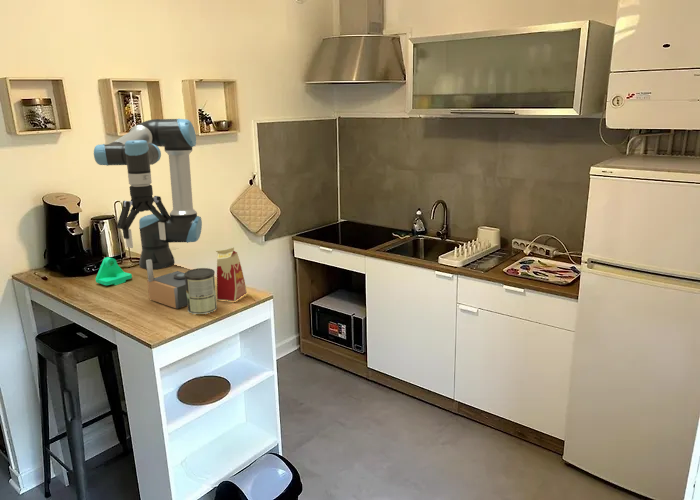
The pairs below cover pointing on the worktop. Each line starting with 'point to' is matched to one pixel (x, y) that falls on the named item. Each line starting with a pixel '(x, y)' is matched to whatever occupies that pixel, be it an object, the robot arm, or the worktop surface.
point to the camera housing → (176, 285)
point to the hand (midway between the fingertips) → (146, 243)
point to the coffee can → (200, 290)
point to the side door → (161, 289)
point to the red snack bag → (229, 276)
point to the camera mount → (111, 273)
